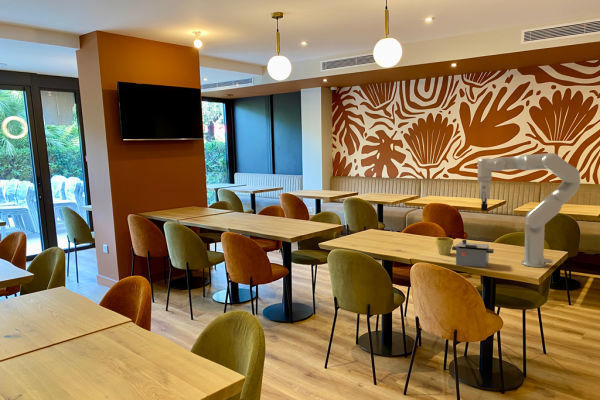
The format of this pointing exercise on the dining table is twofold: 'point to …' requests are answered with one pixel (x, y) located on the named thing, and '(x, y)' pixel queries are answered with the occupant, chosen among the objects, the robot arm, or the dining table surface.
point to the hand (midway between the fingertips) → (484, 210)
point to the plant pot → (444, 245)
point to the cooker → (472, 256)
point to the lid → (472, 245)
